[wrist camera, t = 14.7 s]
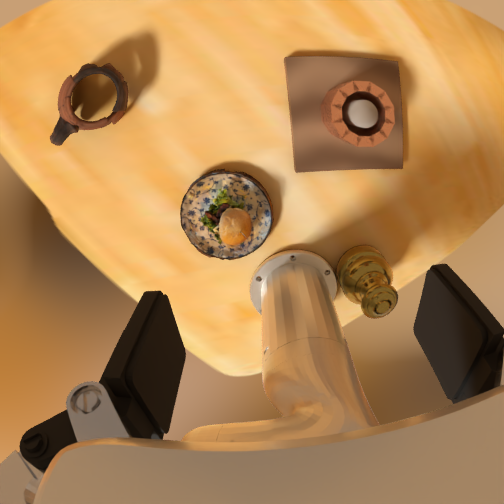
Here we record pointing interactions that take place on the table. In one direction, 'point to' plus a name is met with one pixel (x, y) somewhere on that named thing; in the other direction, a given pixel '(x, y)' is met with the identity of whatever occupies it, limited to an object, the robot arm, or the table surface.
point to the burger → (226, 214)
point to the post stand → (353, 113)
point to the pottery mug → (68, 119)
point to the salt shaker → (367, 281)
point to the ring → (366, 91)
